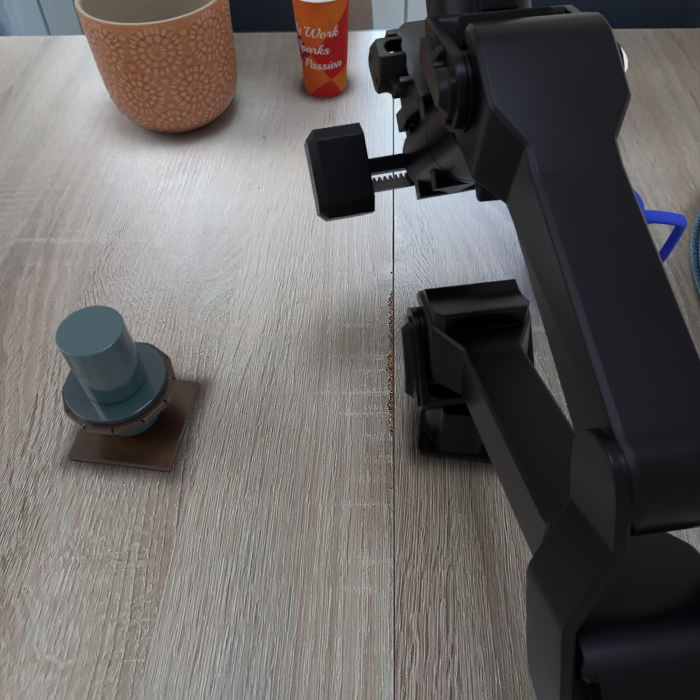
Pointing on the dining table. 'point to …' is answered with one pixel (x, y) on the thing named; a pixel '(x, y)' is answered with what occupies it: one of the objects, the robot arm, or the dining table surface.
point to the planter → (163, 58)
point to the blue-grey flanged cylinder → (108, 369)
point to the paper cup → (323, 44)
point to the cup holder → (148, 446)
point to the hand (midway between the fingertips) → (411, 176)
